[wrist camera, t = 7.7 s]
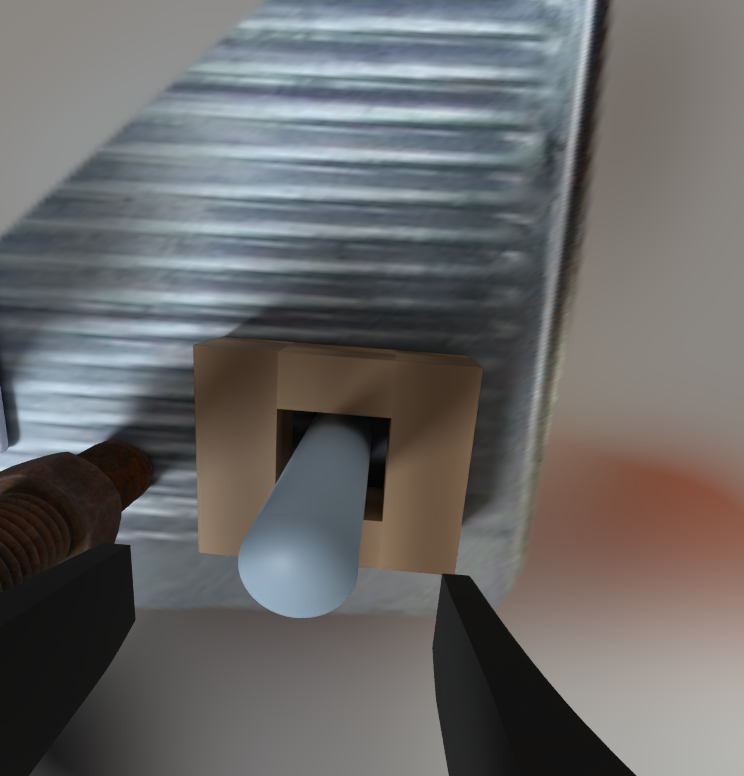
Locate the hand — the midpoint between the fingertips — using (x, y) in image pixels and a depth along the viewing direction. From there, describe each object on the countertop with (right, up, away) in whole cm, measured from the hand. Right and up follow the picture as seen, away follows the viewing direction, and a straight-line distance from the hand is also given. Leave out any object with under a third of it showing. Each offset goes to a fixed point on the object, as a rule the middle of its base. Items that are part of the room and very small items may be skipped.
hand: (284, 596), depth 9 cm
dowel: (+1, +3, +10) cm, 10 cm away
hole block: (0, +2, +10) cm, 10 cm away
